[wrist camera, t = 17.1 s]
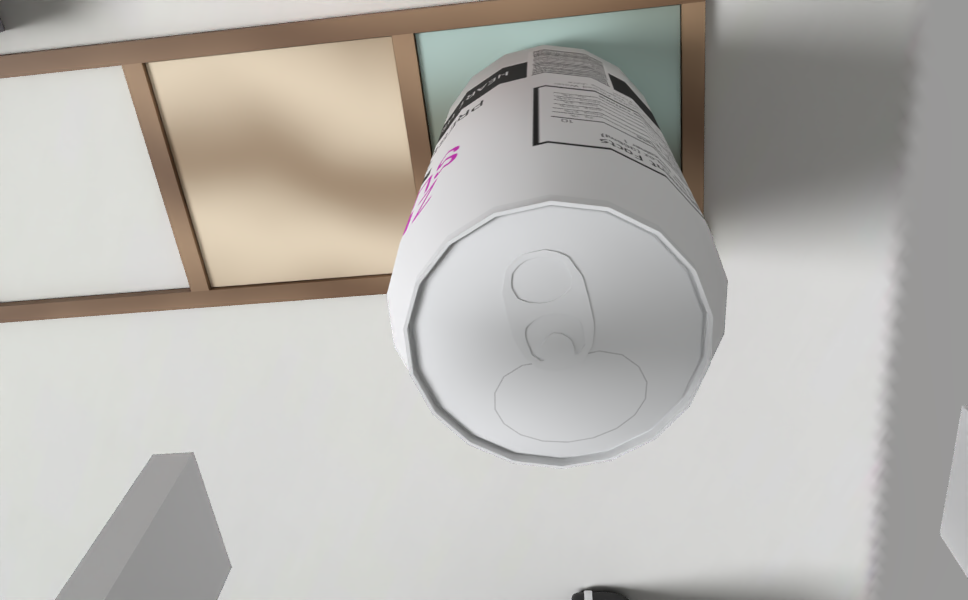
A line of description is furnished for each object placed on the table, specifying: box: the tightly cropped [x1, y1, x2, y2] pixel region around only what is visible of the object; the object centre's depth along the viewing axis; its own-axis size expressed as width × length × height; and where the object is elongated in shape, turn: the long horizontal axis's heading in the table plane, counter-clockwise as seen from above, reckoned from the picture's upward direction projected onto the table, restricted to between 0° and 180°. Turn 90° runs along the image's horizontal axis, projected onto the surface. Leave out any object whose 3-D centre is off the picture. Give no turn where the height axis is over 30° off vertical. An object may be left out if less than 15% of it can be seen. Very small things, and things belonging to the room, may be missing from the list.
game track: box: [0, 0, 705, 323], centre depth 33 cm, size 11×32×1 cm, turn 96°
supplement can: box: [387, 45, 728, 469], centre depth 25 cm, size 8×8×15 cm
